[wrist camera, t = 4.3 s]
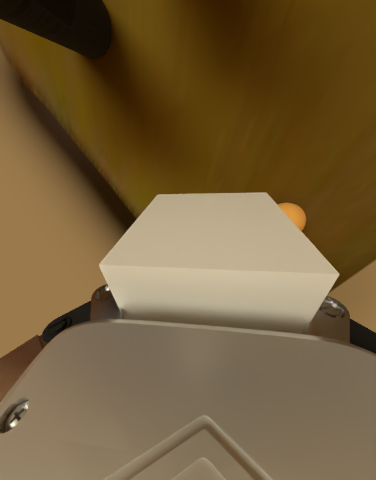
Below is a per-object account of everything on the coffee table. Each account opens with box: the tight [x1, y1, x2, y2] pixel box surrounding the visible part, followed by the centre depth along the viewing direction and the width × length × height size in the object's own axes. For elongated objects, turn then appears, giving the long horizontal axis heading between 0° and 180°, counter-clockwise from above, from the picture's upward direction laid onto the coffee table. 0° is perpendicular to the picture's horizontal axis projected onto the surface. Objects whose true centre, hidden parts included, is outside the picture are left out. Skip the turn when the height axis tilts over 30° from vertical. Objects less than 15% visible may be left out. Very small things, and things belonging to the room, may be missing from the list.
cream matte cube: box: [99, 193, 340, 334], centre depth 11 cm, size 8×8×8 cm
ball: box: [278, 203, 306, 231], centre depth 23 cm, size 5×5×5 cm
